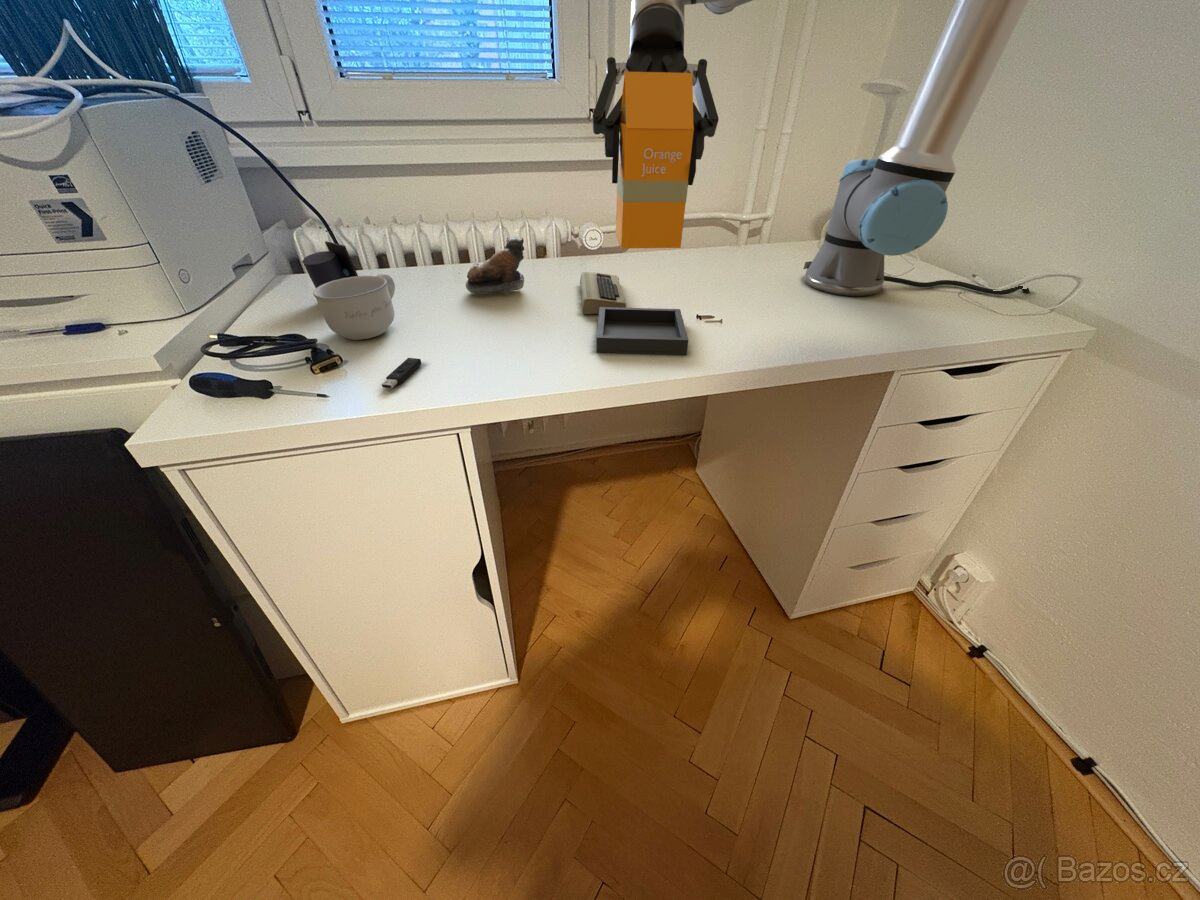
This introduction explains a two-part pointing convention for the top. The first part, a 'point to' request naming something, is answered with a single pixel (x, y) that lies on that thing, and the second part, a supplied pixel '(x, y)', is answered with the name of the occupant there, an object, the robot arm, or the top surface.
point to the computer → (600, 292)
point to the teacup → (357, 305)
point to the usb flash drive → (402, 372)
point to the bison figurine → (498, 271)
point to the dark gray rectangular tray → (641, 331)
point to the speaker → (329, 265)
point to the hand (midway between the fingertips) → (653, 177)
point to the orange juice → (654, 159)
